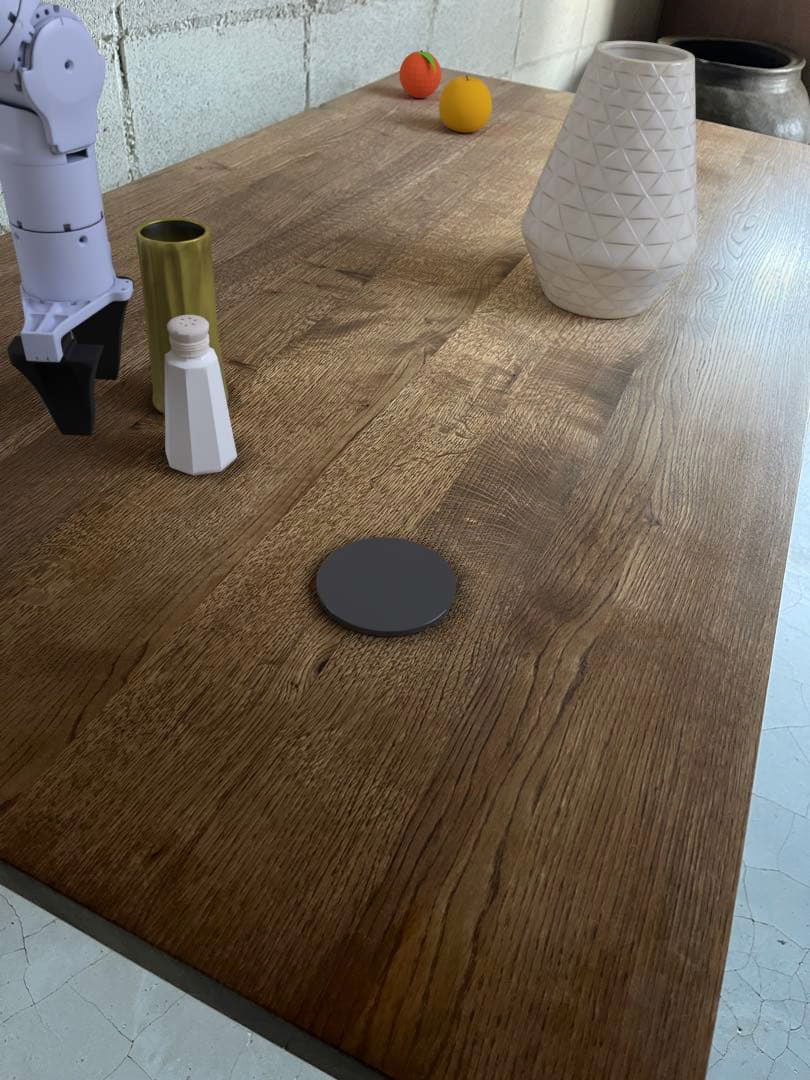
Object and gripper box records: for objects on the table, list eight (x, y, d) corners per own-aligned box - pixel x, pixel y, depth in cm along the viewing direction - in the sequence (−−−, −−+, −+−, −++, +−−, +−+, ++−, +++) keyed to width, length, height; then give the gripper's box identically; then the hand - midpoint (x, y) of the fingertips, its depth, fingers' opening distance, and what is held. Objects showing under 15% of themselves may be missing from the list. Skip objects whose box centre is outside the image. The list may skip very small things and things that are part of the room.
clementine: (451, 102, 152) (455, 55, 147) (415, 106, 149) (418, 58, 144) (424, 90, 157) (428, 44, 153) (390, 94, 154) (392, 46, 150)
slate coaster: (311, 634, 56) (311, 629, 55) (319, 540, 63) (319, 534, 62) (459, 638, 56) (460, 633, 56) (451, 544, 63) (452, 539, 63)
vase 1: (222, 422, 73) (208, 247, 64) (145, 418, 73) (120, 243, 64) (233, 383, 78) (221, 216, 69) (160, 380, 78) (139, 212, 69)
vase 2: (590, 349, 86) (644, 83, 72) (479, 279, 97) (506, 36, 83) (715, 312, 94) (787, 66, 80) (600, 252, 105) (644, 25, 91)
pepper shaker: (174, 433, 72) (157, 301, 65) (243, 438, 72) (234, 307, 65) (156, 474, 67) (137, 337, 60) (230, 479, 67) (219, 343, 60)
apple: (463, 140, 136) (468, 85, 131) (426, 127, 140) (430, 73, 135) (499, 132, 140) (506, 78, 135) (463, 119, 144) (468, 67, 140)
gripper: (93, 265, 52) (125, 463, 61) (144, 181, 63) (165, 357, 72) (-34, 259, 52) (16, 458, 60) (41, 175, 63) (74, 354, 72)
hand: (91, 403), depth 66 cm, fingers open, 7 cm apart
